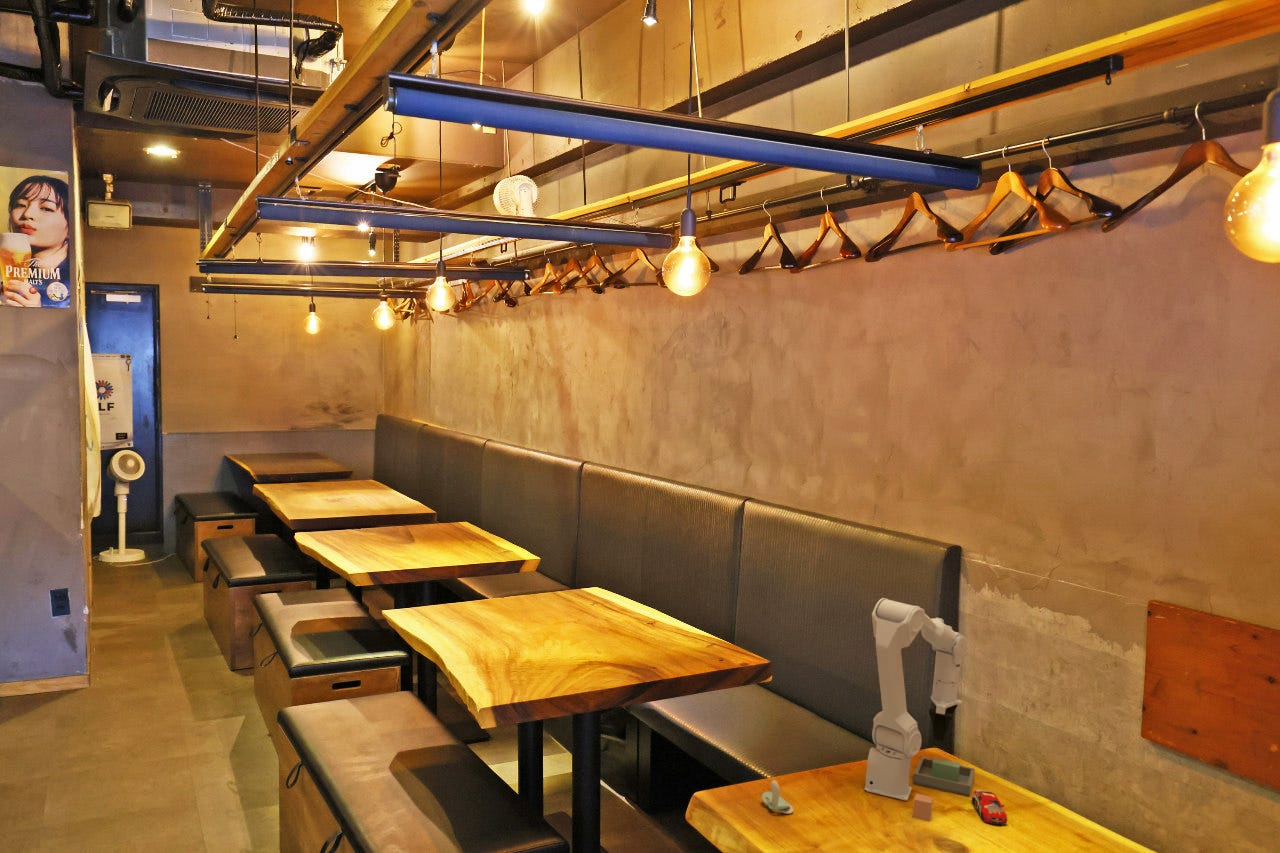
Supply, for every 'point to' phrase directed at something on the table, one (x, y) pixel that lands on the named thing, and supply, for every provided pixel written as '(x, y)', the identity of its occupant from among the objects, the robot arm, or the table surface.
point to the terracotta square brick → (922, 807)
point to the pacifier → (776, 800)
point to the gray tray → (925, 779)
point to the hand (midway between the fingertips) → (940, 735)
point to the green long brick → (945, 769)
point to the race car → (989, 807)
